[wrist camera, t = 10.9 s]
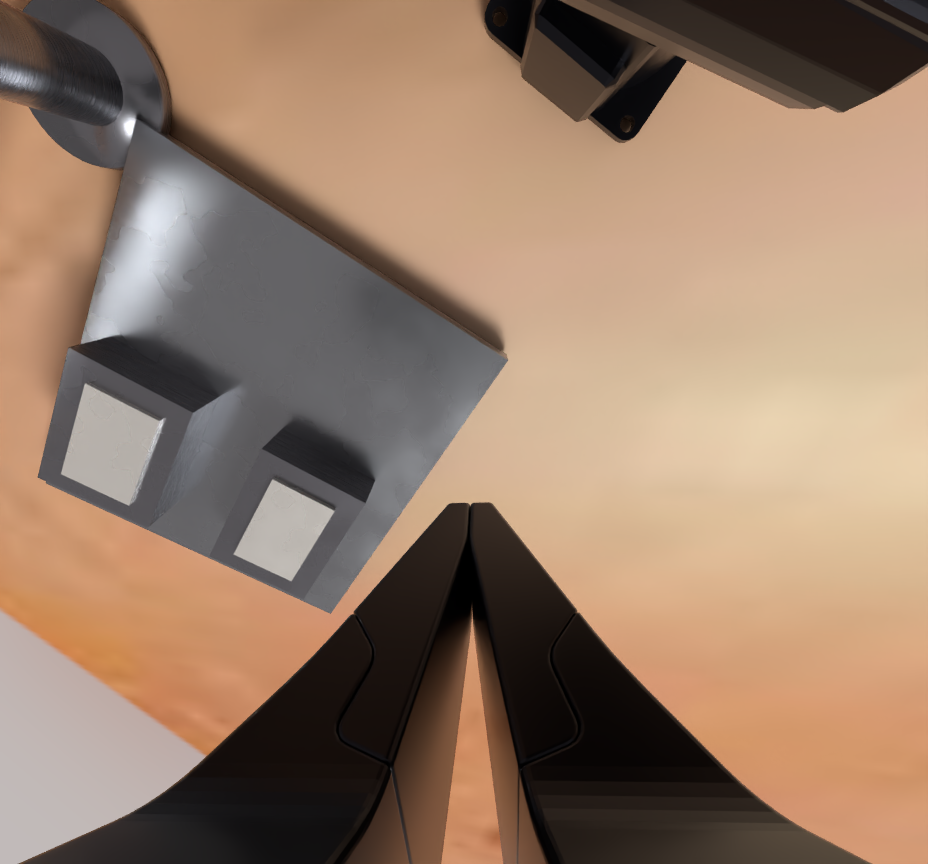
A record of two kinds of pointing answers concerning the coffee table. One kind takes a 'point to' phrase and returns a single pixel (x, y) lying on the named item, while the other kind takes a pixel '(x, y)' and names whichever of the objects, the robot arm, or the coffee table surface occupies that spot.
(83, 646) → the coffee table surface
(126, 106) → the pivot post
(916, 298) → the coffee table surface
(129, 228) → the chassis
